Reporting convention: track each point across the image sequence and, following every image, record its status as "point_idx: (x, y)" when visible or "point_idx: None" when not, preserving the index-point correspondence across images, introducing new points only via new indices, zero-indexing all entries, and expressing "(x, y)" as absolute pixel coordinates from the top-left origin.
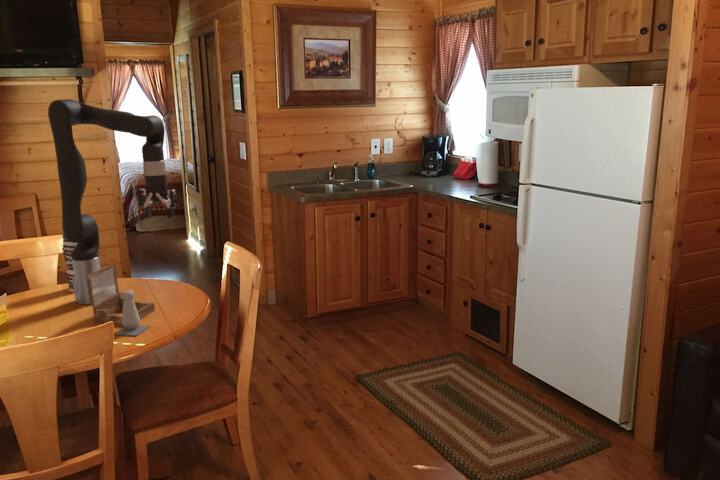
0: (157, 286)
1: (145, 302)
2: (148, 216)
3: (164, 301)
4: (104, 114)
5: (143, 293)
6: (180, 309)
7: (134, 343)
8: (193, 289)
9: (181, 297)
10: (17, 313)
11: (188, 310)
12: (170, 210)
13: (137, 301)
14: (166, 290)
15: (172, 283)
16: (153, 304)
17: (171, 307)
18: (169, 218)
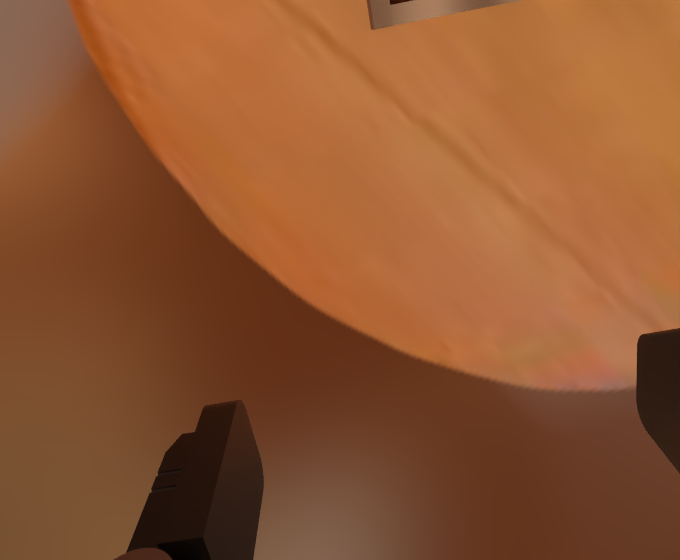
0: (586, 314)
1: (422, 11)
2: (652, 347)
3: (412, 158)
4: None
5: (595, 212)
6: (252, 94)
7: None
8: (386, 339)
9: (367, 234)
10: None
11: (203, 97)
12: (147, 531)
13: (479, 6)
14: (506, 286)
15: (539, 369)
16: (372, 22)
17: (317, 100)
18: (216, 405)
